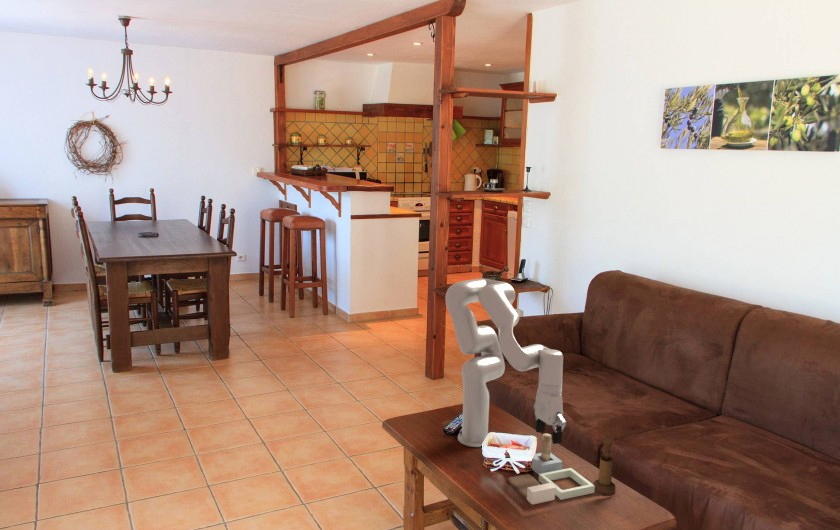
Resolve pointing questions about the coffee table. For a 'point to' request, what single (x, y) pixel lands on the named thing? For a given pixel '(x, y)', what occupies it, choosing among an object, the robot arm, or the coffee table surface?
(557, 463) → the socket
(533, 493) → the block
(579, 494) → the cream square frame
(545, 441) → the dowel
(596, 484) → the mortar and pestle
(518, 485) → the board
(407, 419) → the coffee table surface
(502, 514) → the coffee table surface
